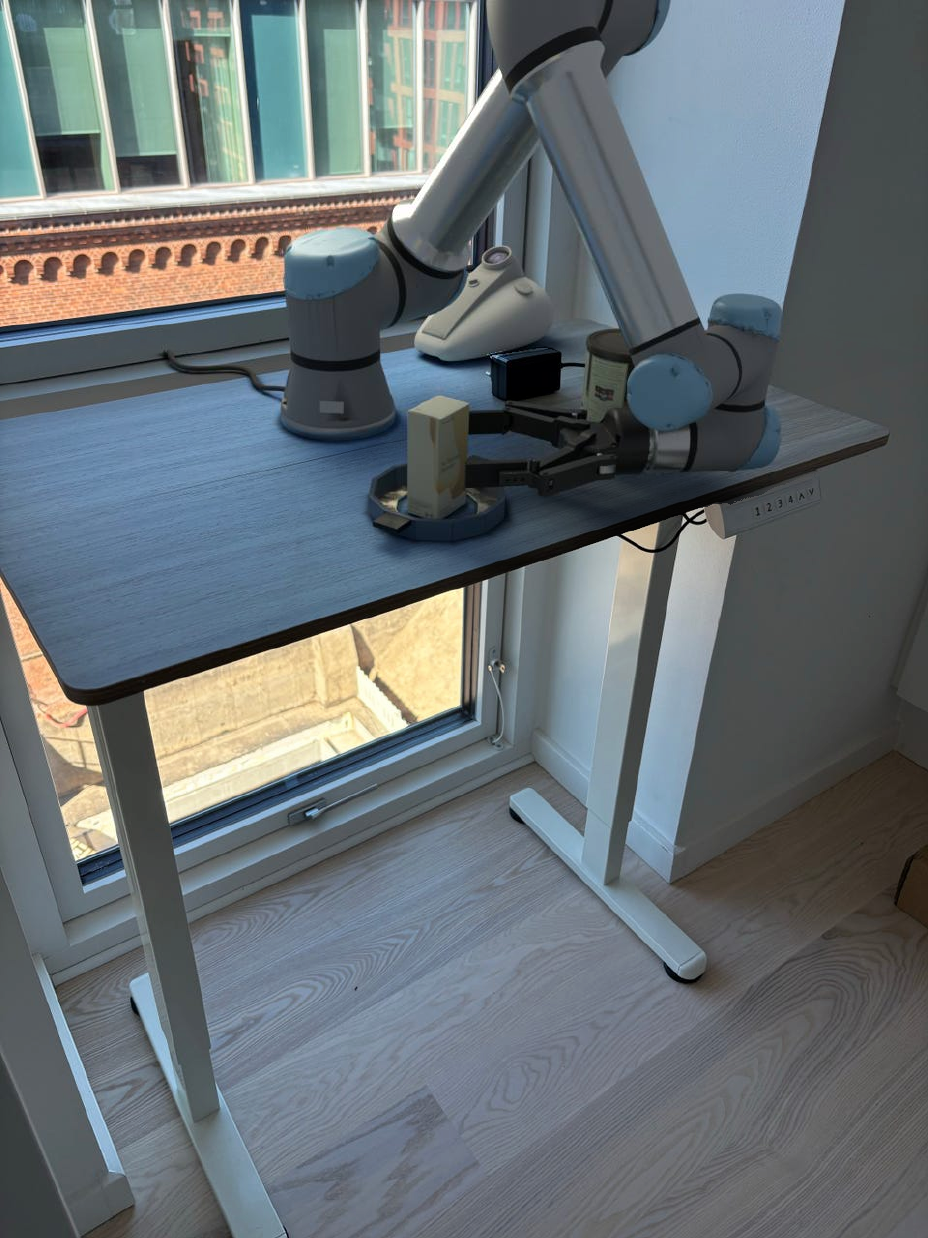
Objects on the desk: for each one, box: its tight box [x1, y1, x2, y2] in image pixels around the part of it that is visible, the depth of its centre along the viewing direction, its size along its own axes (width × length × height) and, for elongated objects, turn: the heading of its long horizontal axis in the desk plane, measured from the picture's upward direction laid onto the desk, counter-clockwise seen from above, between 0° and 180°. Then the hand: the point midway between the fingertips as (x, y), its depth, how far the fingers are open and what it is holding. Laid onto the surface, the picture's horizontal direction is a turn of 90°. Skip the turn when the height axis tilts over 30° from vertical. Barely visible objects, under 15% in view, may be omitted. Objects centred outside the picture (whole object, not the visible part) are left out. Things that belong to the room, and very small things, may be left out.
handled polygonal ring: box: [368, 454, 506, 542], centre depth 110 cm, size 15×20×2 cm
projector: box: [414, 245, 555, 362], centre depth 154 cm, size 22×23×15 cm
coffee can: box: [580, 327, 635, 422], centre depth 121 cm, size 10×10×14 cm
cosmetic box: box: [406, 394, 470, 519], centre depth 107 cm, size 6×4×12 cm
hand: (455, 447), depth 107 cm, fingers open, 13 cm apart
